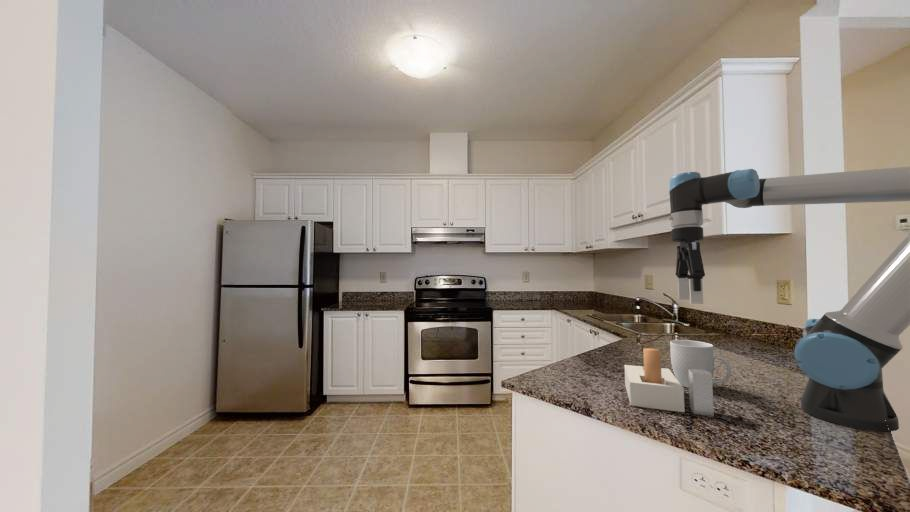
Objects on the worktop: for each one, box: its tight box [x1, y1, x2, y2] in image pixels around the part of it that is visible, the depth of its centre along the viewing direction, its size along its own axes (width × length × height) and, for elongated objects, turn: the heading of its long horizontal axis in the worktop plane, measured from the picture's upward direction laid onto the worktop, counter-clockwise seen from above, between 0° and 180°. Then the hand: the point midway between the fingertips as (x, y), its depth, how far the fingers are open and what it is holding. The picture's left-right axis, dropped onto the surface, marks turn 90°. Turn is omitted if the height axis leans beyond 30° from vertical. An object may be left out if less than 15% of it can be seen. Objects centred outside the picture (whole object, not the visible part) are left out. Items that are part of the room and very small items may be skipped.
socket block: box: [624, 364, 685, 413], centre depth 94 cm, size 12×18×6 cm, turn 157°
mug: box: [669, 339, 732, 389], centre depth 101 cm, size 15×11×13 cm
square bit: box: [688, 369, 715, 417], centre depth 84 cm, size 4×4×10 cm
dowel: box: [642, 347, 662, 384], centre depth 90 cm, size 4×4×12 cm
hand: (690, 301), depth 94 cm, fingers open, 13 cm apart
